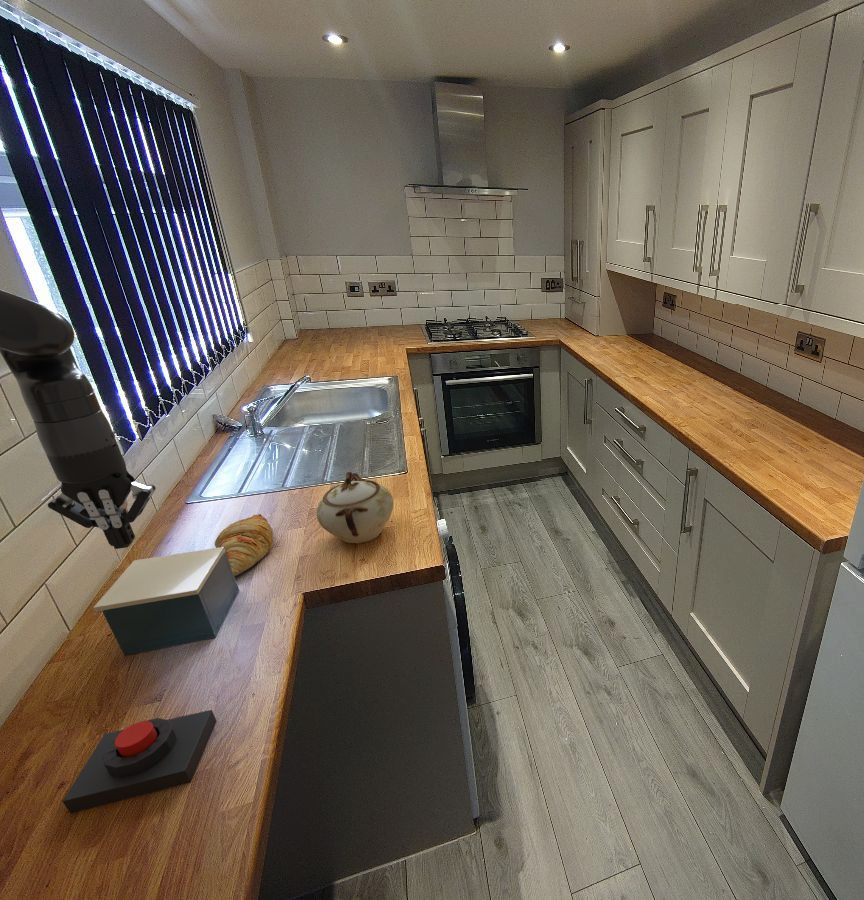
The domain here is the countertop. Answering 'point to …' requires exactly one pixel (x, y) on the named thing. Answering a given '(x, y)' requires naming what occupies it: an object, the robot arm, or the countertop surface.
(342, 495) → the sugar bowl
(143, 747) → the button
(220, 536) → the croissant
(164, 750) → the switch block
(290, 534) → the countertop surface
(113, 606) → the box lid
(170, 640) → the dark rectangular box
